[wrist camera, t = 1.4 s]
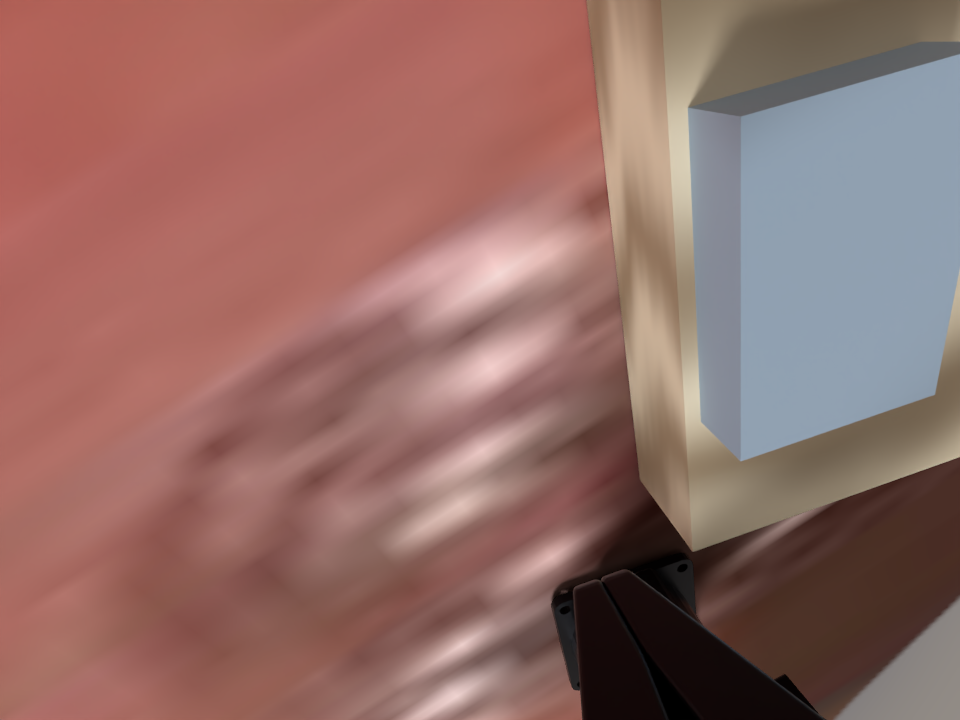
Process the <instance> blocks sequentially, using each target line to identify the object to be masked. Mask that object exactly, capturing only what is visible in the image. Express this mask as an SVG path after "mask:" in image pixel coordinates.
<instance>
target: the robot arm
mask: <svg viewBox="0 0 960 720" xmlns="http://www.w3.org/2000/svg"><path fill="white" fill-rule="evenodd" d="M551 608H552V612H553V616H554V620H555V624H556V628H557V632H558V636H559V640H560V644H561V648H562V653H563V657H564V661H565V665H566V669H567V673H568V677H569V680H570V683H571V686H572V688H573V689H574V690H580V695H581V709H582V720H826V719H825V718H823V717H822V716H821V715H819V714H818V712H817V711H816V710H815V709H814V708H813V706H812V705H811V704H810V703H809V702H808V700H807V699H806V698H805V697H804V696H803V695H802V693H801V692H800V691H799V690H798V689H797V687H796V686H795V685H794V684H793V683H792V681H791V680H790V679H789V678H788V677H787V676H786V674H784V675H782V676H780V677H778V678H776V679H774V680H773V679H772V678H771V677H769V676H768V675H767V674H765V673H764V672H763V671H761V670H760V669H759V668H758V667H756V666H755V665H754V664H752V663H751V662H750V661H748V660H747V659H746V658H744V657H743V656H742V655H740V654H739V653H738V652H737V651H735V650H734V649H733V648H731V647H730V646H729V645H727V644H726V643H725V642H723V641H722V640H721V639H719V638H718V637H717V636H715V635H714V634H713V633H712V632H710V631H709V630H708V629H706V628H705V627H704V626H703V625H702V623H701V622H700V620H699V619H698V617H697V616H696V608H695V591H694V574H693V563H692V561H691V560H690V558H689V557H688V555H686V554H685V553H678V554H675V555H672V556H669V557H666V558H664V559H661V560H658V561H655V562H652V563H650V564H647V565H644V566H641V567H638V568H636V569H633V570H630V571H629V570H626V569H624V570H620V571H617V572H614V573H612V574H609V575H606V576H604V577H603V578H602V579H601V581H600V580H592V581H589V582H586V583H583V584H581V585H578V586H576V587H575V588H574V590H573V591H571V592H568V593H565V594H563V595H560V596H558V597H556V598H555V599H554V600H553V601H552V603H551Z"/></svg>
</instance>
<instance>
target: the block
mask: <svg viewBox="0 0 960 720" xmlns="http://www.w3.org/2000/svg"><path fill="white" fill-rule="evenodd" d="M688 126H689V150H690V174H691V198H692V222H693V246H694V270H695V294H696V318H697V342H698V366H699V390H700V415H701V422H702V423H703V424H704V425H705V426H706V427H707V428H708V429H709V430H710V431H711V432H712V433H713V434H714V435H715V436H716V437H717V438H718V439H719V440H720V441H721V442H722V443H723V444H724V445H725V446H726V447H727V448H728V449H729V450H730V451H731V452H732V453H733V454H734V455H735V456H736V457H737V458H738V459H739V460H740V461H744V460H747V459H749V458H752V457H755V456H758V455H761V454H764V453H767V452H770V451H773V450H776V449H778V448H781V447H784V446H787V445H790V444H793V443H796V442H799V441H802V440H805V439H808V438H810V437H813V436H816V435H819V434H822V433H825V432H828V431H831V430H834V429H837V428H840V427H842V426H845V425H848V424H851V423H854V422H857V421H860V420H863V419H866V418H869V417H871V416H874V415H877V414H880V413H883V412H886V411H889V410H892V409H895V408H898V407H901V406H903V405H906V404H909V403H912V402H915V401H918V400H921V399H924V398H927V397H930V396H932V395H935V391H936V386H937V381H938V376H939V371H940V366H941V361H942V356H943V351H944V346H945V341H946V336H947V331H948V326H949V321H950V315H951V310H952V305H953V300H954V295H955V290H956V285H957V280H958V275H959V270H960V42H919V43H915V44H912V45H908V46H905V47H901V48H898V49H894V50H891V51H887V52H884V53H880V54H876V55H873V56H869V57H866V58H862V59H859V60H855V61H852V62H848V63H844V64H841V65H837V66H834V67H830V68H827V69H823V70H820V71H816V72H813V73H809V74H805V75H802V76H798V77H795V78H791V79H788V80H784V81H781V82H777V83H773V84H770V85H766V86H763V87H759V88H756V89H752V90H749V91H745V92H742V93H738V94H734V95H731V96H727V97H724V98H720V99H717V100H713V101H710V102H706V103H703V104H699V105H695V106H692V107H688Z"/></svg>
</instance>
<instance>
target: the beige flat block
mask: <svg viewBox="0 0 960 720" xmlns="http://www.w3.org/2000/svg"><path fill="white" fill-rule="evenodd" d="M586 1H587V10H588V19H589V28H590V37H591V46H592V55H593V64H594V73H595V82H596V91H597V100H598V109H599V118H600V127H601V135H602V144H603V153H604V162H605V171H606V180H607V189H608V198H609V207H610V216H611V225H612V234H613V243H614V252H615V261H616V270H617V279H618V287H619V296H620V305H621V314H622V323H623V332H624V341H625V350H626V359H627V368H628V377H629V386H630V395H631V404H632V413H633V422H634V431H635V440H636V448H637V457H638V466H639V475H640V481H641V482H642V483H643V485H644V486H645V487H646V489H647V490H648V491H649V493H650V494H651V496H652V497H653V498H654V500H655V501H656V502H657V504H658V505H659V507H660V508H661V509H662V511H663V512H664V513H665V515H666V516H667V517H668V519H669V520H670V522H671V523H672V524H673V526H674V527H675V528H676V530H677V531H678V533H679V534H680V535H681V537H682V538H683V539H684V541H685V542H686V544H687V545H688V546H689V548H690V549H691V550H692V552H694V551H697V550H700V549H703V548H706V547H708V546H711V545H714V544H717V543H720V542H722V541H725V540H728V539H731V538H734V537H736V536H739V535H742V534H745V533H748V532H750V531H753V530H756V529H759V528H762V527H765V526H767V525H770V524H773V523H776V522H779V521H781V520H784V519H787V518H790V517H793V516H795V515H798V514H801V513H804V512H807V511H809V510H812V509H815V508H818V507H821V506H823V505H826V504H829V503H832V502H835V501H837V500H840V499H843V498H846V497H849V496H851V495H854V494H857V493H860V492H863V491H865V490H868V489H871V488H874V487H877V486H879V485H882V484H885V483H888V482H891V481H893V480H896V479H899V478H902V477H905V476H907V475H910V474H913V473H916V472H919V471H922V470H924V469H927V468H930V467H933V466H936V465H938V464H941V463H944V462H947V461H950V460H952V459H955V458H958V457H960V270H959V275H958V280H957V285H956V290H955V295H954V300H953V305H952V310H951V315H950V321H949V326H948V331H947V336H946V341H945V346H944V351H943V356H942V361H941V366H940V371H939V376H938V381H937V386H936V391H935V395H932V396H930V397H927V398H924V399H921V400H918V401H915V402H912V403H909V404H906V405H903V406H901V407H898V408H895V409H892V410H889V411H886V412H883V413H880V414H877V415H874V416H871V417H869V418H866V419H863V420H860V421H857V422H854V423H851V424H848V425H845V426H842V427H840V428H837V429H834V430H831V431H828V432H825V433H822V434H819V435H816V436H813V437H810V438H808V439H805V440H802V441H799V442H796V443H793V444H790V445H787V446H784V447H781V448H778V449H776V450H773V451H770V452H767V453H764V454H761V455H758V456H755V457H752V458H749V459H747V460H744V461H740V460H739V459H738V458H737V457H736V456H735V455H734V454H733V453H732V452H731V451H730V450H729V449H728V448H727V447H726V446H725V445H724V444H723V443H722V442H721V441H720V440H719V439H718V438H717V437H716V436H715V435H714V434H713V433H712V432H711V431H710V430H709V429H708V428H707V427H706V426H705V425H704V424H703V423H702V422H701V415H700V390H699V366H698V342H697V318H696V294H695V270H694V246H693V222H692V198H691V174H690V150H689V126H688V107H692V106H695V105H699V104H703V103H706V102H710V101H713V100H717V99H720V98H724V97H727V96H731V95H734V94H738V93H742V92H745V91H749V90H752V89H756V88H759V87H763V86H766V85H770V84H773V83H777V82H781V81H784V80H788V79H791V78H795V77H798V76H802V75H805V74H809V73H813V72H816V71H820V70H823V69H827V68H830V67H834V66H837V65H841V64H844V63H848V62H852V61H855V60H859V59H862V58H866V57H869V56H873V55H876V54H880V53H884V52H887V51H891V50H894V49H898V48H901V47H905V46H908V45H912V44H915V43H919V42H960V0H586Z"/></svg>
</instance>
